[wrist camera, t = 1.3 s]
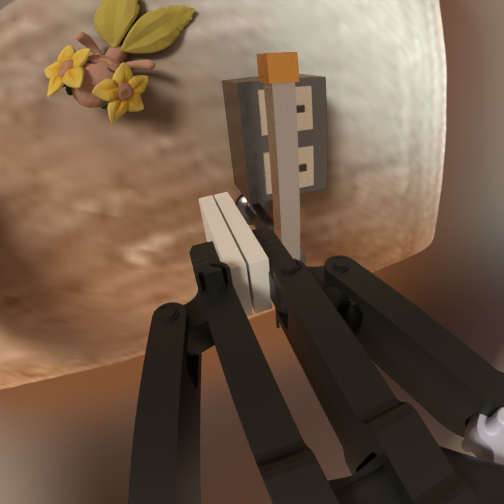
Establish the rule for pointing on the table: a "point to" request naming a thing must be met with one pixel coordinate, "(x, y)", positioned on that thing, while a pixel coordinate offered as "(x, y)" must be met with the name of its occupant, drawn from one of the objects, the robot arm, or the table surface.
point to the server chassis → (256, 135)
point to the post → (255, 213)
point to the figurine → (116, 56)
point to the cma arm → (283, 145)
